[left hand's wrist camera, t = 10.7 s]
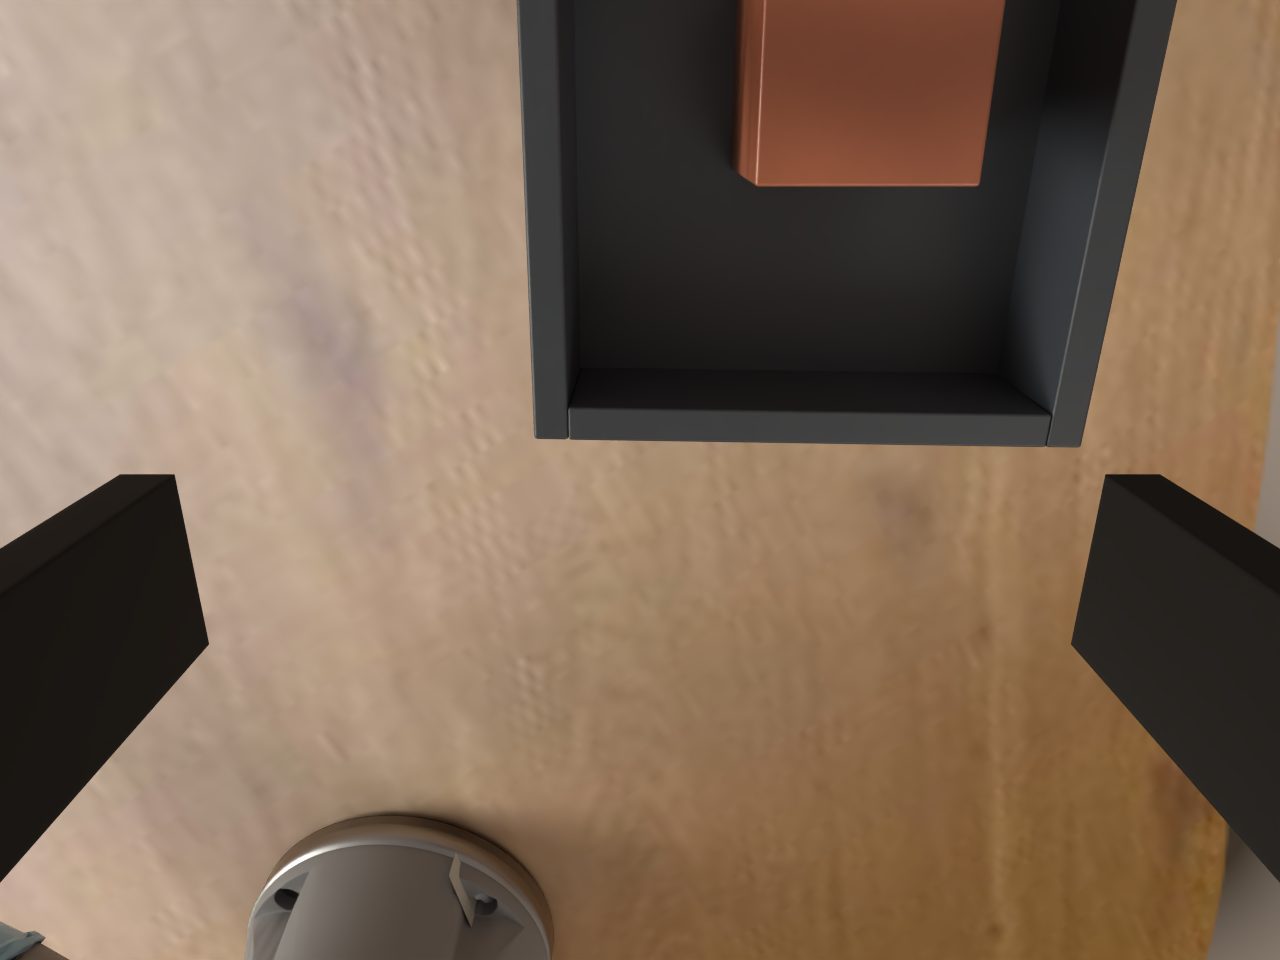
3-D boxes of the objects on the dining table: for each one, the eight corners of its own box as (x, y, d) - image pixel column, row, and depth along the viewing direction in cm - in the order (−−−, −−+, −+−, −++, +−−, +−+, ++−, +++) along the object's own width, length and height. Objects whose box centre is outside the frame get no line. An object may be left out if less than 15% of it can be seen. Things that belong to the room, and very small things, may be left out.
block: (895, 169, 21) (979, 187, 15) (730, 169, 21) (755, 186, 15) (915, -20, 19) (1018, -76, 14) (737, -19, 19) (767, -75, 14)
